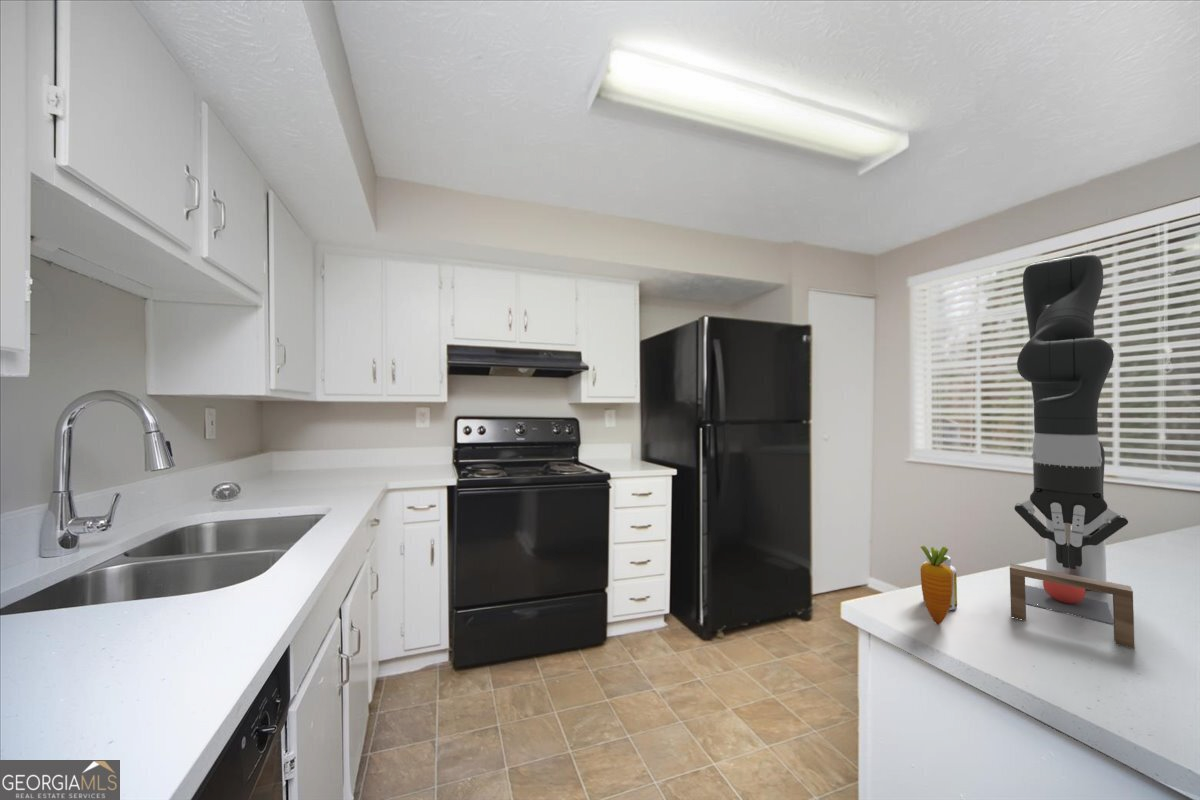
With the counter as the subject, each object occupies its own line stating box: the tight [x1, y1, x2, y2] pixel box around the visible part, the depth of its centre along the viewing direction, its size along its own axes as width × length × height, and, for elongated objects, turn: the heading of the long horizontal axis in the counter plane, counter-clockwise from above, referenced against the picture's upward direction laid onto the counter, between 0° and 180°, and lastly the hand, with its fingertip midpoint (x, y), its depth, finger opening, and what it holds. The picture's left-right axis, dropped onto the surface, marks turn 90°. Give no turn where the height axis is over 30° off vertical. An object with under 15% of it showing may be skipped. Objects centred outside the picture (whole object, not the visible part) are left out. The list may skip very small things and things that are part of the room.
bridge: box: [1009, 563, 1135, 649], centre depth 78 cm, size 3×15×10 cm, turn 44°
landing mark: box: [1025, 584, 1114, 626], centre depth 87 cm, size 12×12×1 cm
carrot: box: [920, 545, 953, 625], centre depth 80 cm, size 5×5×15 cm
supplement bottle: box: [921, 552, 958, 611], centre depth 88 cm, size 6×6×10 cm
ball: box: [1042, 572, 1086, 604], centre depth 88 cm, size 6×6×6 cm
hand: (1068, 567), depth 69 cm, fingers closed
